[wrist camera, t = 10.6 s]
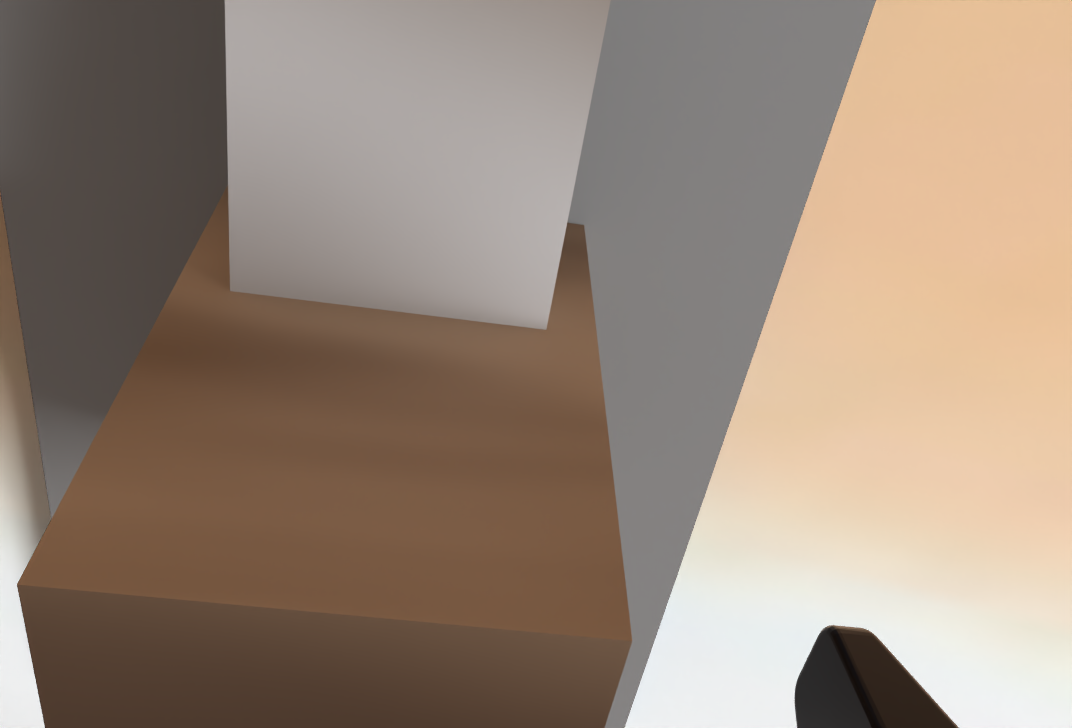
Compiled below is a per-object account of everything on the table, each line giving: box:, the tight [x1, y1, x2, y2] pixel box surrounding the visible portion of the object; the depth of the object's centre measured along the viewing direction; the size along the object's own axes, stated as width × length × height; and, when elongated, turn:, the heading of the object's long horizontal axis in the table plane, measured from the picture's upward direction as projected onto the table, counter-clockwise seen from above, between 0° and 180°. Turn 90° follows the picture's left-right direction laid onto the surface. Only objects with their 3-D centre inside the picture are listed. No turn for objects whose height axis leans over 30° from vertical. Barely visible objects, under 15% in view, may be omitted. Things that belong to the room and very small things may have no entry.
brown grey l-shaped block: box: [17, 0, 632, 728], centre depth 8 cm, size 12×4×6 cm, turn 171°
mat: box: [0, 0, 876, 728], centre depth 13 cm, size 16×9×1 cm, turn 171°
